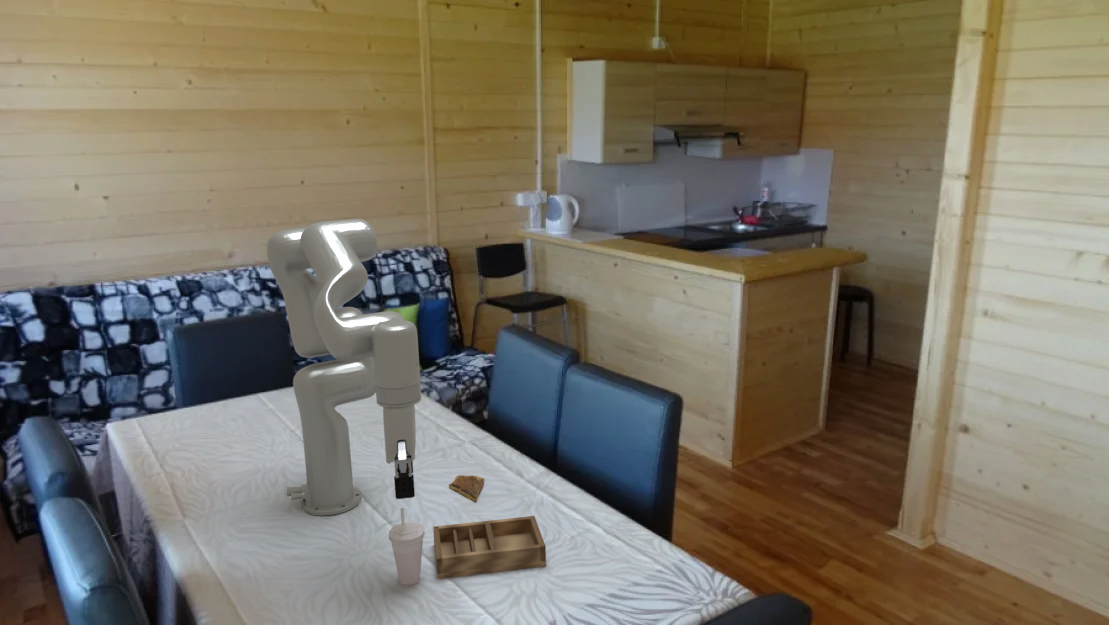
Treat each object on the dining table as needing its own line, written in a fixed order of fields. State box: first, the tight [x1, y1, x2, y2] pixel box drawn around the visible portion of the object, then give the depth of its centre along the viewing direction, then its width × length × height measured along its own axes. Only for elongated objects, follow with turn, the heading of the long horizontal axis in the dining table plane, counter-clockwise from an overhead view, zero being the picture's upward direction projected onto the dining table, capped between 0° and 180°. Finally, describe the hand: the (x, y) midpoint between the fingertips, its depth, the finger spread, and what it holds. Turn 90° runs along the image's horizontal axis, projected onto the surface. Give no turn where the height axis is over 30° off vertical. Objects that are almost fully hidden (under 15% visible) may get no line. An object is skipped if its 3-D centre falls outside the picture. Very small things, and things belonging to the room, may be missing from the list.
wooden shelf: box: [432, 515, 547, 580], centre depth 151 cm, size 20×12×4 cm, turn 101°
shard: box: [448, 475, 485, 503], centre depth 178 cm, size 11×8×2 cm
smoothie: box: [388, 507, 426, 586], centre depth 142 cm, size 6×6×14 cm
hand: (404, 485), depth 139 cm, fingers open, 9 cm apart
